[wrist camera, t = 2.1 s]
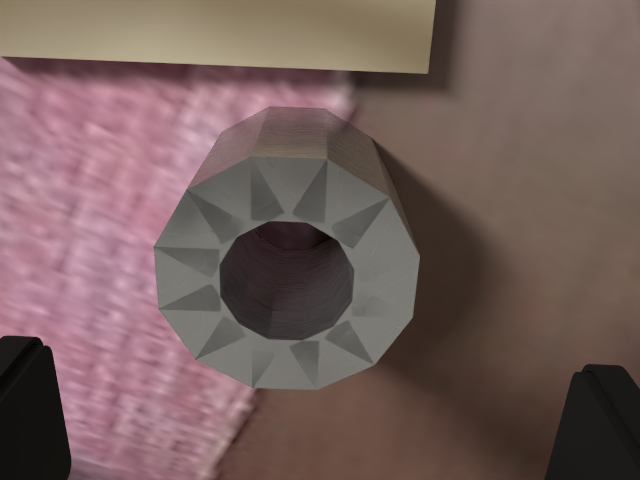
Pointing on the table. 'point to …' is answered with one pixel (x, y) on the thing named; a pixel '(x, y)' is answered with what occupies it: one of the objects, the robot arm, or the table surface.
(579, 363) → the table surface
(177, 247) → the steel collar
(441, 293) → the table surface
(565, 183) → the table surface
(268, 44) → the hub board
